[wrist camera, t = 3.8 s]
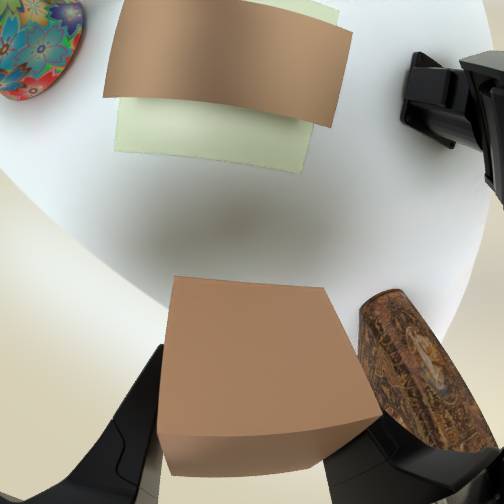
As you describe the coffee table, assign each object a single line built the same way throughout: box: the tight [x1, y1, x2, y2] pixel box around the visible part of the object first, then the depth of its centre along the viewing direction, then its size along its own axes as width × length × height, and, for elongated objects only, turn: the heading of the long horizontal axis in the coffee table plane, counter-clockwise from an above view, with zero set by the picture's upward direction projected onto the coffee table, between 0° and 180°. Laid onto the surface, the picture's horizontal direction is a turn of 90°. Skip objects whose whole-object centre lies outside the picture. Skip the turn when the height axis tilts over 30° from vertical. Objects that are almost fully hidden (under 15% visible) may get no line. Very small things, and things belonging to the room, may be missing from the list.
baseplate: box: [115, 0, 339, 174], centre depth 13 cm, size 12×12×1 cm
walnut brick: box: [103, 0, 353, 128], centre depth 11 cm, size 10×5×5 cm, turn 79°
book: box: [358, 289, 498, 452], centre depth 19 cm, size 16×6×25 cm, turn 15°
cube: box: [157, 276, 383, 477], centre depth 8 cm, size 5×5×5 cm
